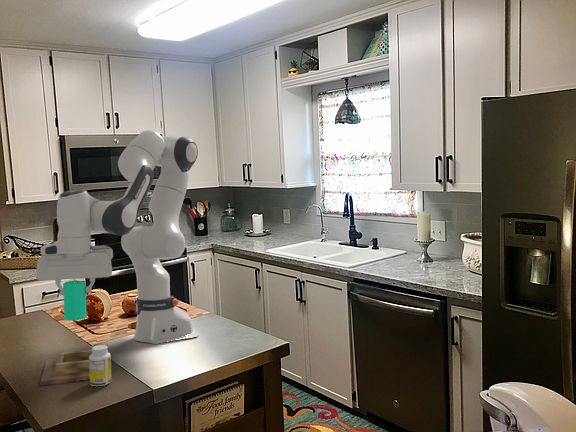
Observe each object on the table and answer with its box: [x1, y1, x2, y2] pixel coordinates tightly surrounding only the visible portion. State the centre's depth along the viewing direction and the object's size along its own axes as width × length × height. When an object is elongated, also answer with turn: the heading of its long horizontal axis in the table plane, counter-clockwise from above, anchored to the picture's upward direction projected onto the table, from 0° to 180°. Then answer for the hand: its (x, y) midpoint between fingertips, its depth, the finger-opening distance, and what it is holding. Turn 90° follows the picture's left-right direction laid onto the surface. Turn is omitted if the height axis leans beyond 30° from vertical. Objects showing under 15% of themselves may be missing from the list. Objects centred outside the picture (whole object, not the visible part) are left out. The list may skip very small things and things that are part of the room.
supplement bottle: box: [89, 344, 112, 387], centre depth 141 cm, size 6×6×10 cm
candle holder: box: [39, 349, 92, 387], centre depth 151 cm, size 18×18×4 cm
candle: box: [62, 279, 87, 322], centre depth 150 cm, size 6×6×12 cm
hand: (75, 293), depth 150 cm, fingers closed on candle, 5 cm apart
